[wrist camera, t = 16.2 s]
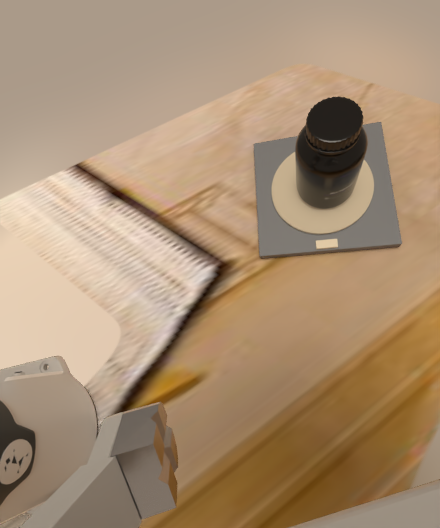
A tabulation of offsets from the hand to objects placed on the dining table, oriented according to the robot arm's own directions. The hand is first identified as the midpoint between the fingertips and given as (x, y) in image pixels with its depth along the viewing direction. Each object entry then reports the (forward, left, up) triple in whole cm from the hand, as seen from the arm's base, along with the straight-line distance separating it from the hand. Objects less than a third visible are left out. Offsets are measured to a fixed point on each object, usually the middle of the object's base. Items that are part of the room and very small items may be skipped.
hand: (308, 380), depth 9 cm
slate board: (+3, +20, -30) cm, 36 cm away
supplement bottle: (+4, +20, -28) cm, 35 cm away
